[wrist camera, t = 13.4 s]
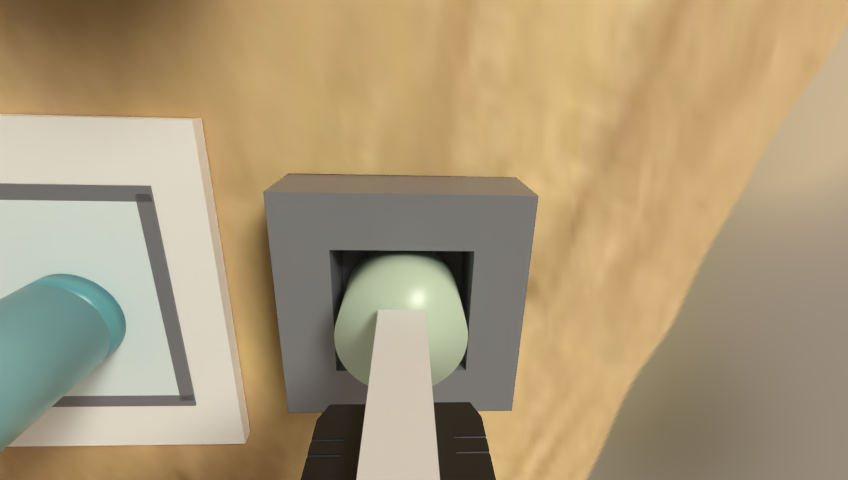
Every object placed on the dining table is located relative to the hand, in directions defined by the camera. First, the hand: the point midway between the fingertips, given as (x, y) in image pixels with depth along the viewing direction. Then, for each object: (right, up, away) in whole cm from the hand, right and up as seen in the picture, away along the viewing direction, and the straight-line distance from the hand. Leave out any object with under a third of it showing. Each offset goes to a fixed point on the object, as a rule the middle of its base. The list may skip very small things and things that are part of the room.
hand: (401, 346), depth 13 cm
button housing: (0, +2, +5) cm, 5 cm away
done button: (0, +1, +3) cm, 4 cm away
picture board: (-14, +1, +4) cm, 15 cm away
